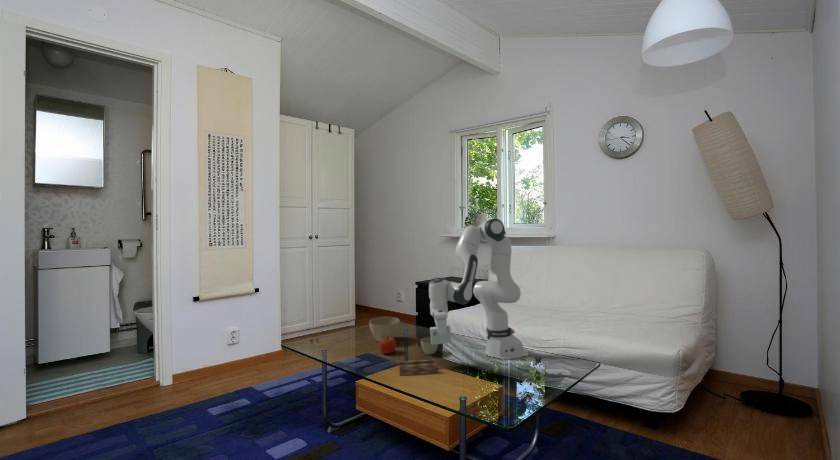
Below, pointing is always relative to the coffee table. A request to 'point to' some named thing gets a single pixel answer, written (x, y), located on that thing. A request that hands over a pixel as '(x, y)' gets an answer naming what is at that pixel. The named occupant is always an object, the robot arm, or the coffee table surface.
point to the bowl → (428, 346)
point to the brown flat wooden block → (417, 367)
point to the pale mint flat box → (435, 336)
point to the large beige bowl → (384, 327)
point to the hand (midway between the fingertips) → (440, 336)
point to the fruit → (387, 344)
